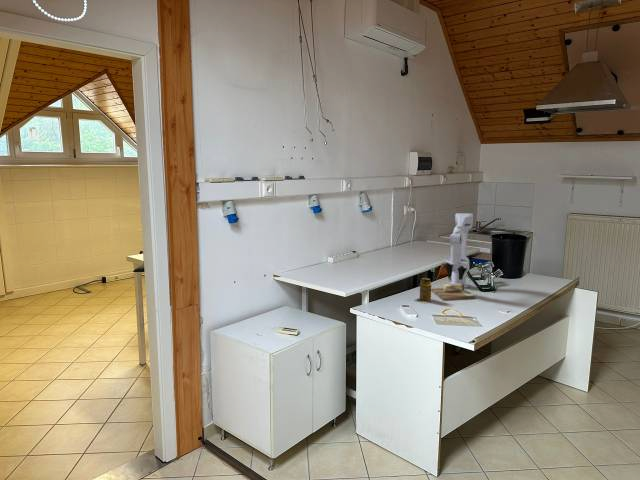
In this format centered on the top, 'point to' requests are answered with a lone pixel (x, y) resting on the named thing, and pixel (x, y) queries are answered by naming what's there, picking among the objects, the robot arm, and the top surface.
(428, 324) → the top surface
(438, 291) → the stool seat
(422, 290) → the condiment
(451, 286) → the folding leg
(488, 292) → the top surface
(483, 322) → the top surface
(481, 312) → the top surface
